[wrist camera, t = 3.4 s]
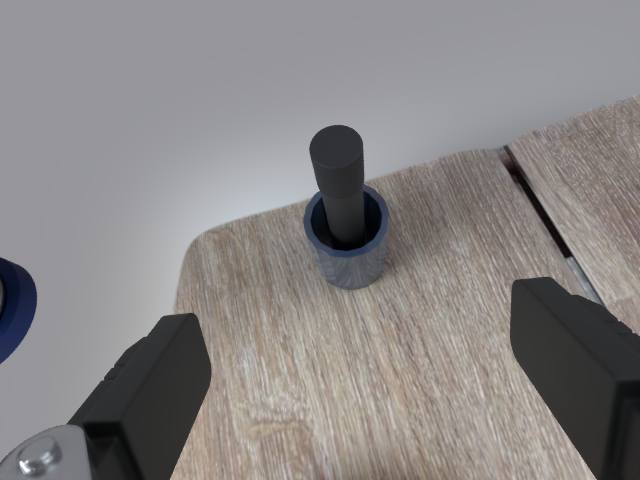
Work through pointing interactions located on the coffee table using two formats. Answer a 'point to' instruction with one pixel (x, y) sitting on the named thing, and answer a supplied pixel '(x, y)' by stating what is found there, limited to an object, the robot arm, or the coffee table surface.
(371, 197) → the pen cup
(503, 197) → the coffee table surface
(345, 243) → the cylinder
